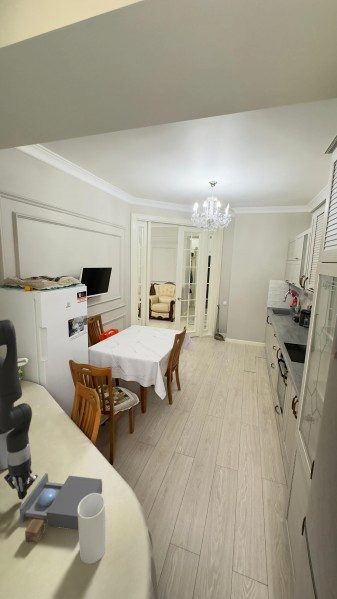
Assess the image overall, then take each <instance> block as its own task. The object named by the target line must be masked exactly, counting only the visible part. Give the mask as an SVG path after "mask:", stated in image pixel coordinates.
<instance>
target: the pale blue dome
mask: <svg viewBox="0 0 337 599" xmlns="http://www.w3.org/2000/svg"><path fill="white" fill-rule="evenodd" d="M55 497H56V491H55V490H54V489H47V490H45V491H43V492H42V493H41V494H40V495H39V498H38V503H39V506H40V507H43V508H44V507H48V506H50V505H51V504H52V502H53V501H54V499H55Z"/></svg>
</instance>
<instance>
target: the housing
mask: <svg viewBox="0 0 337 599" xmlns="http://www.w3.org/2000/svg"><path fill="white" fill-rule="evenodd" d="M63 484H64V485H63V486H62V488H61V489H60V491H59V493H58V494H57V496H56V497H55V499H54V501H53V502H52V504H51V505H50V507H49V509H48V510H47V512H46V514H47V519H46V525H47V526H48V527H53V528H58V529H59V528H61V529H65V530H67V529H68V530H73V531H79V528H78V505H79V503H80V501H81V500H82V499H83V498H84V497H85V496H87V495H89V494H92V493H98V494H101V495H102V493H103V479H101V478H93V477H92V478H91V477H86V476H85V477H84V476H74V475H68V477H67V478H66V480H65V482H64V483H63Z"/></svg>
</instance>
